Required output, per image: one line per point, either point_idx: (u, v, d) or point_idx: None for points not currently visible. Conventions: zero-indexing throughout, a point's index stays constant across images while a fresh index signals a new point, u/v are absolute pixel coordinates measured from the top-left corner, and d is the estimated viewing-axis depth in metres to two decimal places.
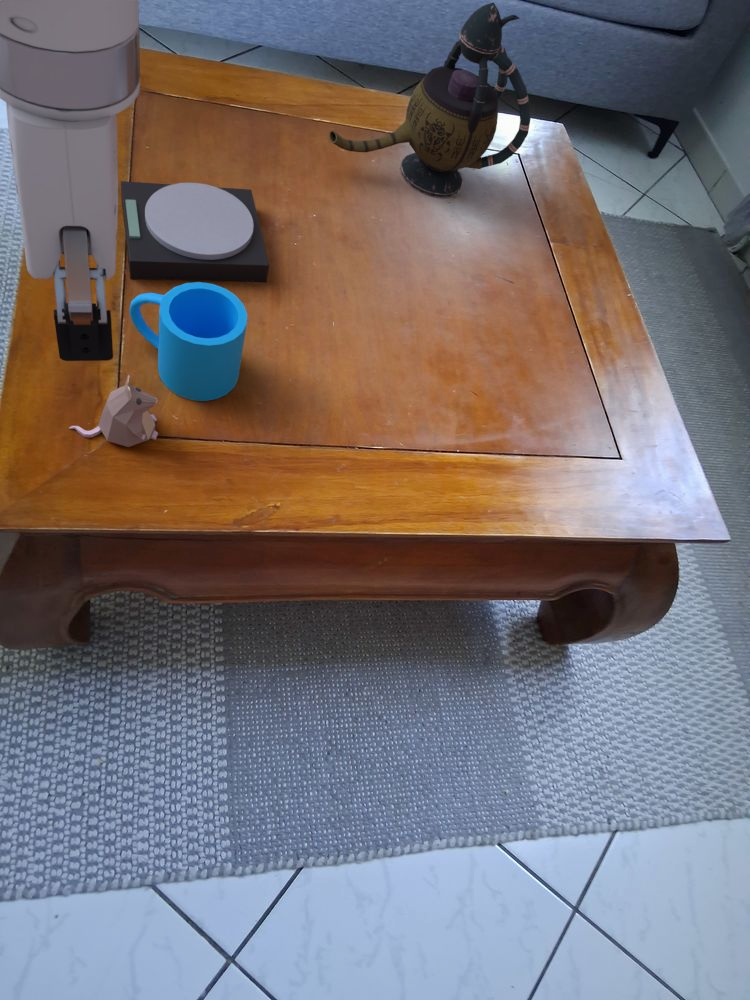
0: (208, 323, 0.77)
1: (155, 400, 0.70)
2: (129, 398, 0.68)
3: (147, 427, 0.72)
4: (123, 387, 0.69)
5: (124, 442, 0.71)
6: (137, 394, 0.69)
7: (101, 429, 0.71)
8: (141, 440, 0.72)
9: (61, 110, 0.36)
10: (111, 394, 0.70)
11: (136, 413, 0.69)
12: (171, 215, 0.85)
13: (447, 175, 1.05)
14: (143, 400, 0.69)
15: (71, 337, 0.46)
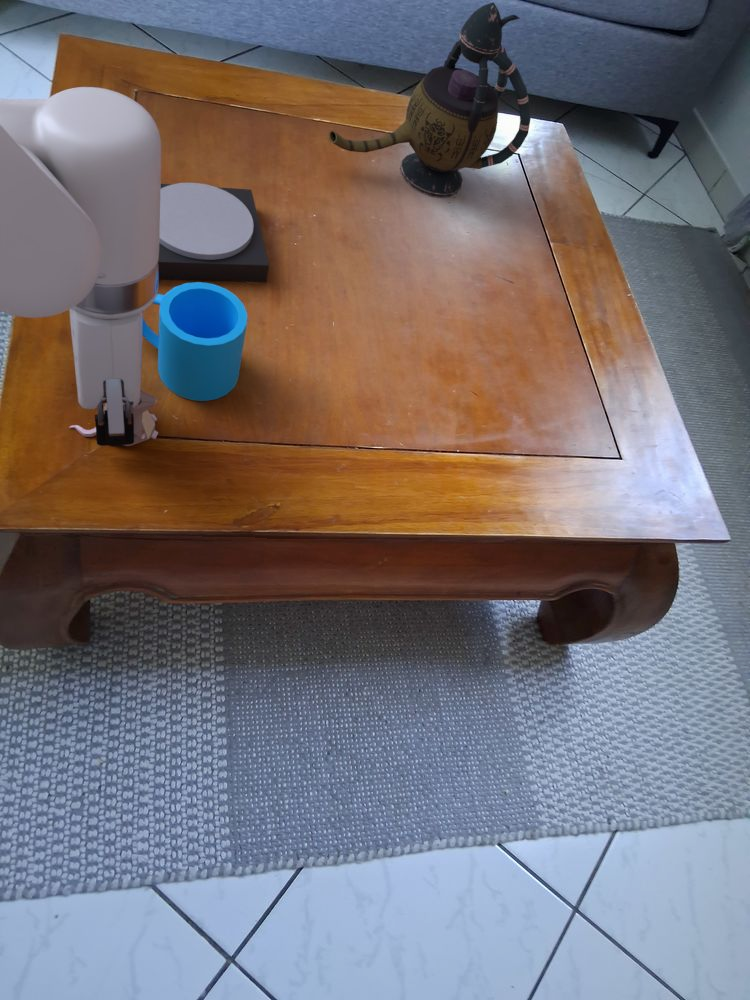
0: (208, 323, 0.77)
1: (155, 400, 0.70)
2: None
3: (147, 427, 0.72)
4: None
5: None
6: None
7: None
8: (141, 440, 0.72)
9: (108, 314, 0.55)
10: None
11: (136, 413, 0.69)
12: (171, 215, 0.85)
13: (447, 175, 1.05)
14: (143, 400, 0.69)
15: (106, 432, 0.67)
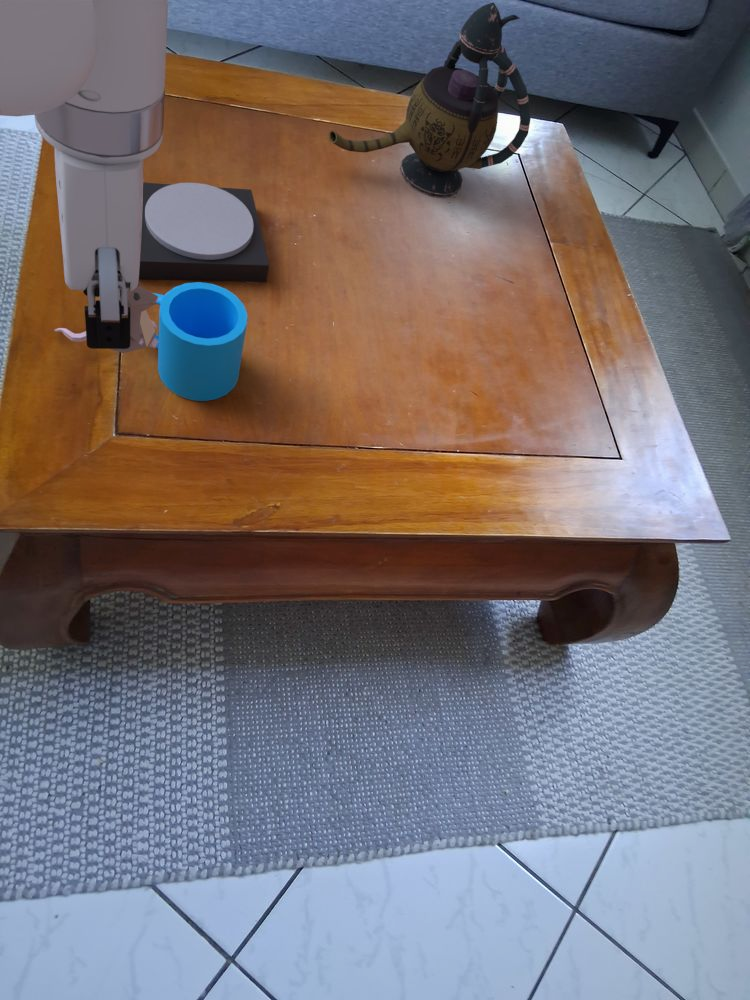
0: (208, 323, 0.77)
1: (156, 297, 0.60)
2: None
3: (146, 331, 0.62)
4: None
5: None
6: (135, 288, 0.59)
7: None
8: (138, 346, 0.62)
9: (102, 156, 0.45)
10: None
11: (133, 311, 0.59)
12: (171, 215, 0.85)
13: (447, 175, 1.05)
14: (142, 296, 0.59)
15: (98, 328, 0.57)
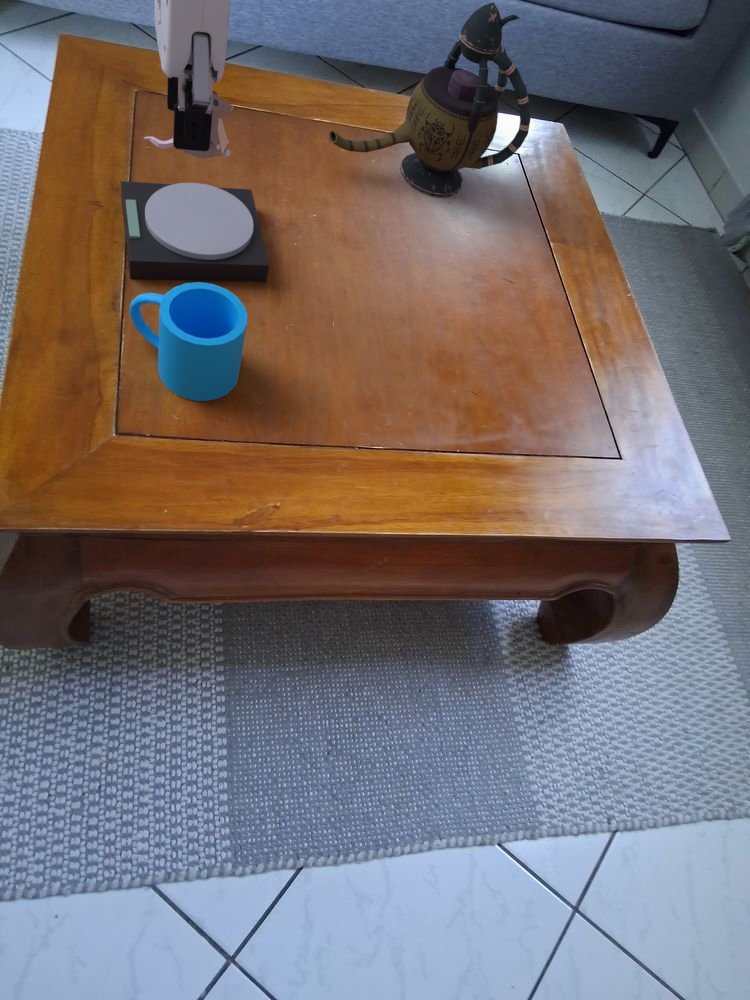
0: (208, 323, 0.77)
1: (231, 106, 0.70)
2: None
3: (221, 140, 0.71)
4: None
5: (199, 151, 0.71)
6: (214, 95, 0.69)
7: None
8: (215, 153, 0.71)
9: None
10: None
11: (212, 116, 0.69)
12: (171, 215, 0.85)
13: (447, 175, 1.05)
14: (220, 102, 0.69)
15: (185, 124, 0.67)
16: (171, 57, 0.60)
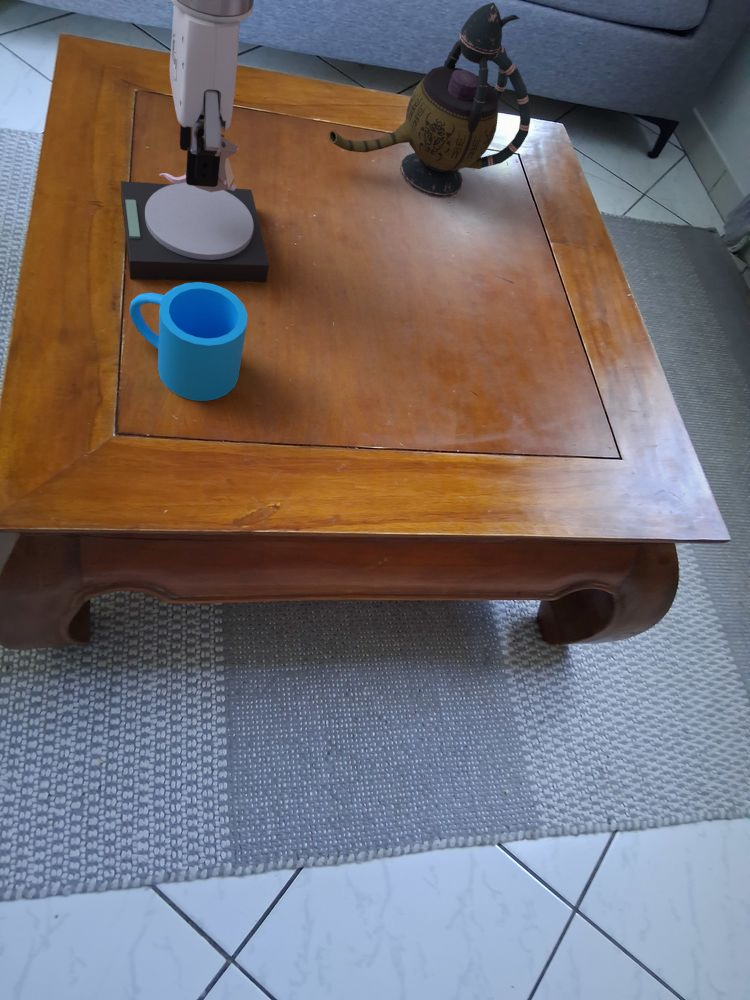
0: (208, 323, 0.77)
1: (236, 147, 0.79)
2: None
3: (228, 176, 0.81)
4: None
5: None
6: (222, 138, 0.78)
7: None
8: (222, 187, 0.81)
9: (214, 16, 0.64)
10: None
11: (220, 156, 0.78)
12: (171, 215, 0.85)
13: (447, 175, 1.05)
14: (227, 144, 0.78)
15: (197, 165, 0.76)
16: (186, 110, 0.70)
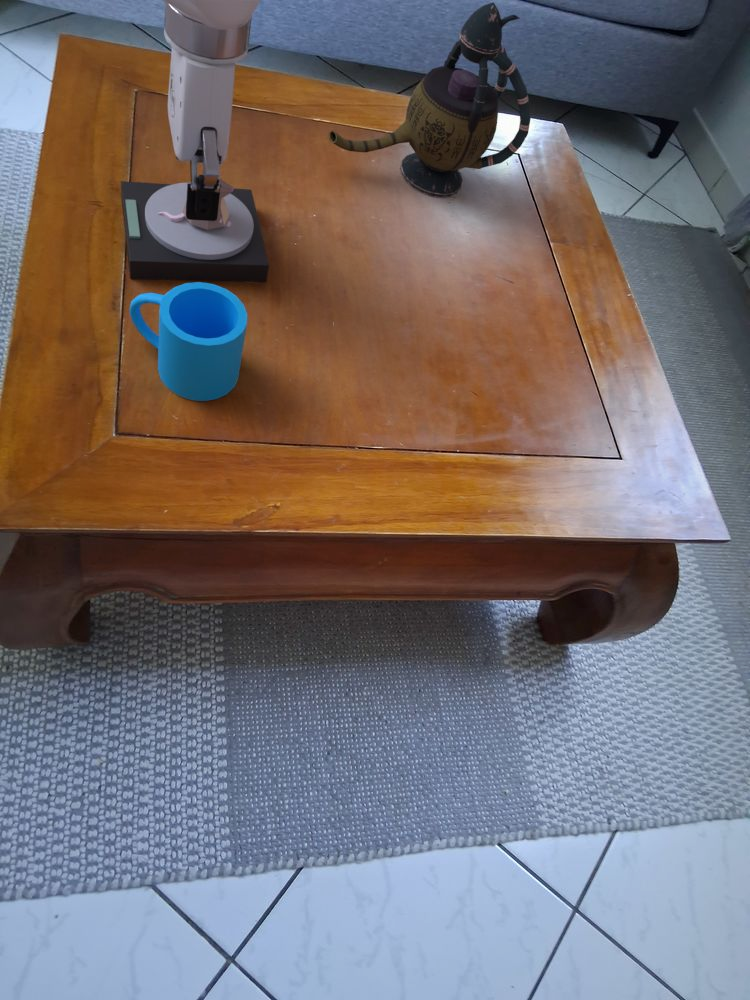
0: (208, 323, 0.77)
1: (232, 187, 0.83)
2: None
3: (223, 214, 0.85)
4: None
5: (204, 224, 0.84)
6: None
7: (185, 215, 0.85)
8: (218, 225, 0.85)
9: (211, 58, 0.67)
10: None
11: None
12: None
13: (447, 175, 1.05)
14: (222, 185, 0.82)
15: (197, 200, 0.77)
16: (183, 146, 0.73)
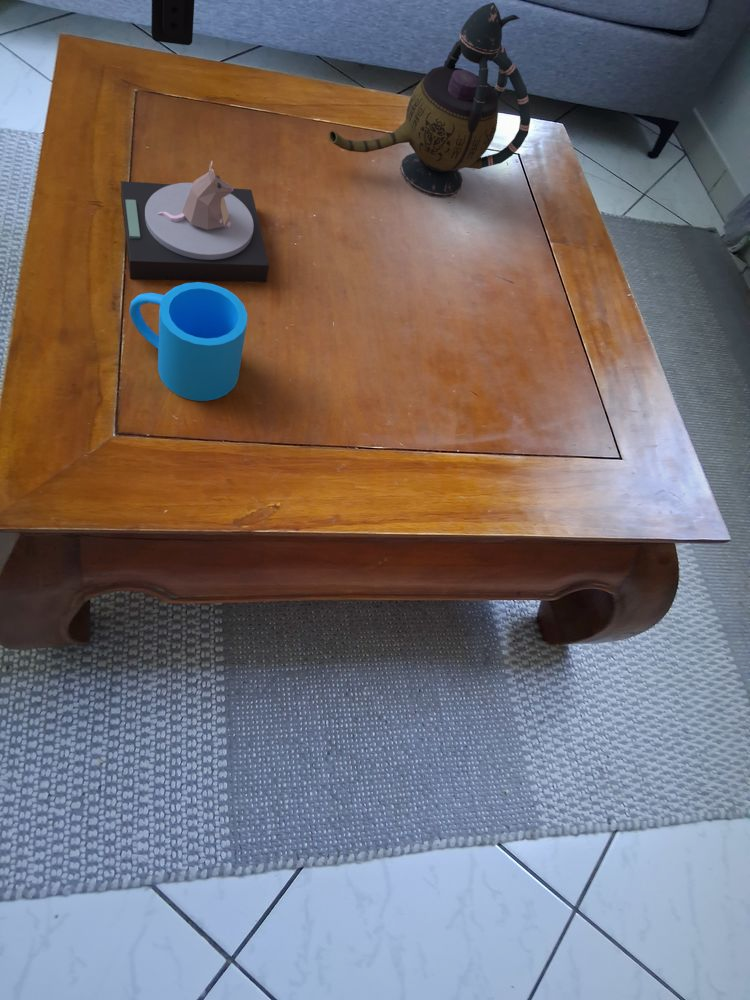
0: (208, 323, 0.77)
1: (232, 187, 0.83)
2: (212, 179, 0.81)
3: (223, 214, 0.85)
4: (206, 174, 0.82)
5: (204, 224, 0.84)
6: (218, 179, 0.82)
7: (185, 215, 0.85)
8: (218, 225, 0.85)
9: None
10: (195, 181, 0.83)
11: (216, 196, 0.82)
12: None
13: (447, 175, 1.05)
14: (222, 185, 0.82)
15: (164, 9, 0.59)
16: None
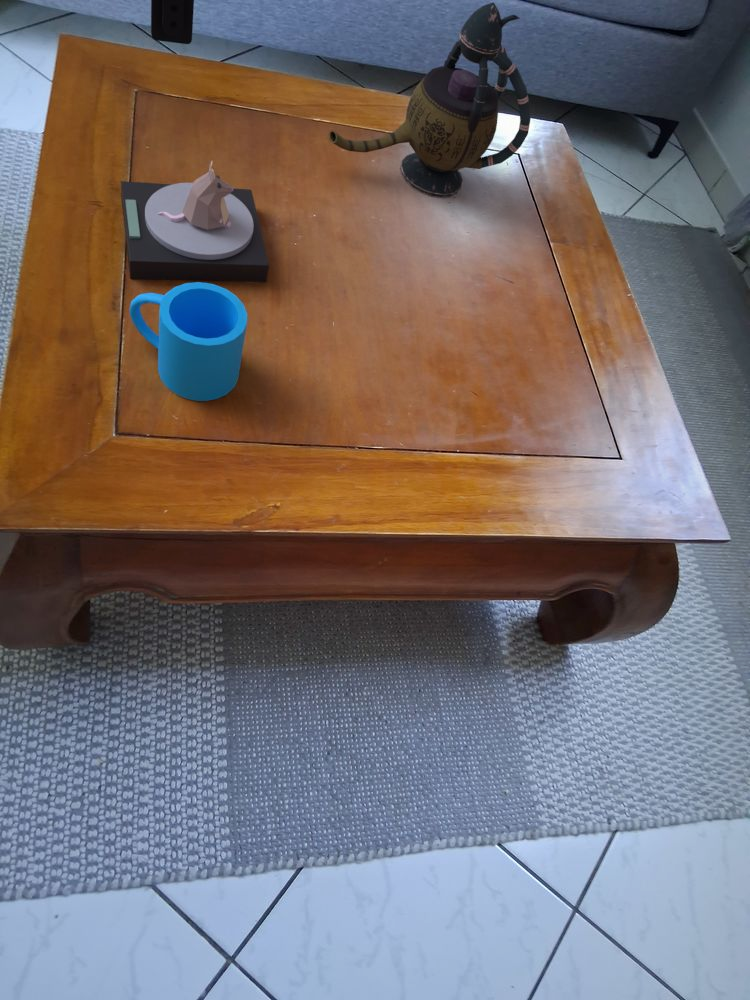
0: (208, 323, 0.77)
1: (232, 187, 0.83)
2: (212, 179, 0.81)
3: (223, 214, 0.85)
4: (206, 174, 0.82)
5: (204, 224, 0.84)
6: (218, 179, 0.82)
7: (185, 215, 0.85)
8: (218, 225, 0.85)
9: None
10: (195, 181, 0.83)
11: (216, 196, 0.82)
12: None
13: (447, 175, 1.05)
14: (222, 185, 0.82)
15: (164, 8, 0.59)
16: None
